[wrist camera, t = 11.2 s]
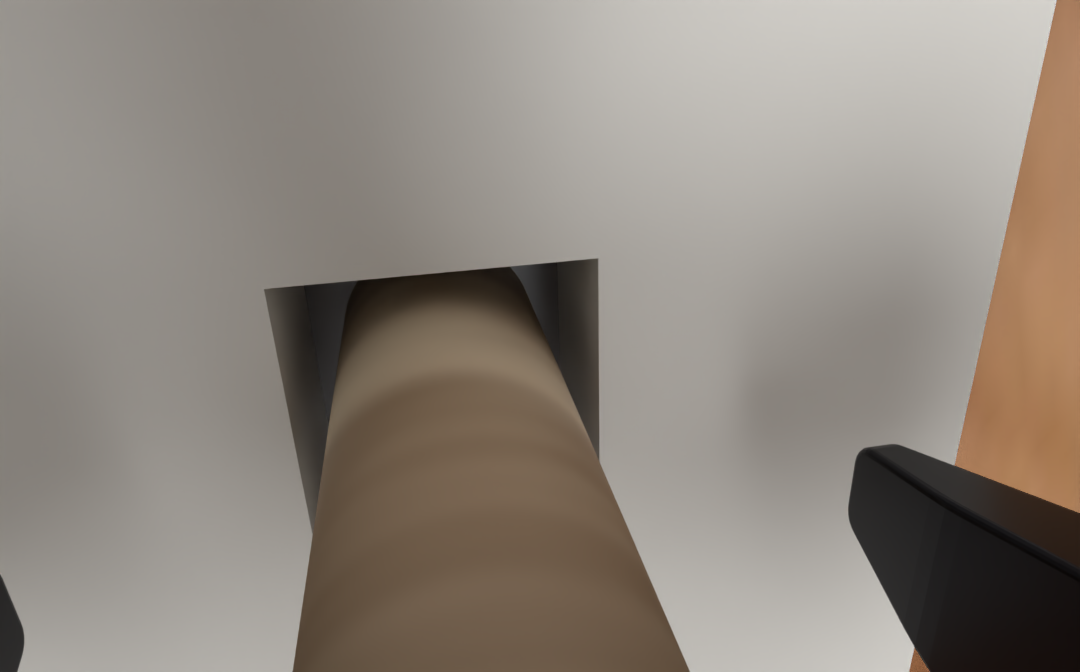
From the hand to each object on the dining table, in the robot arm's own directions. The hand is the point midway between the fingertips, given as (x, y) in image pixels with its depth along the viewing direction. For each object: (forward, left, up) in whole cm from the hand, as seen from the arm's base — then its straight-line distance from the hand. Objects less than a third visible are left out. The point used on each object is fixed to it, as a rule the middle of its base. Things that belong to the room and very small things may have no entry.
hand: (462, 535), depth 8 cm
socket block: (0, 0, -7) cm, 7 cm away
